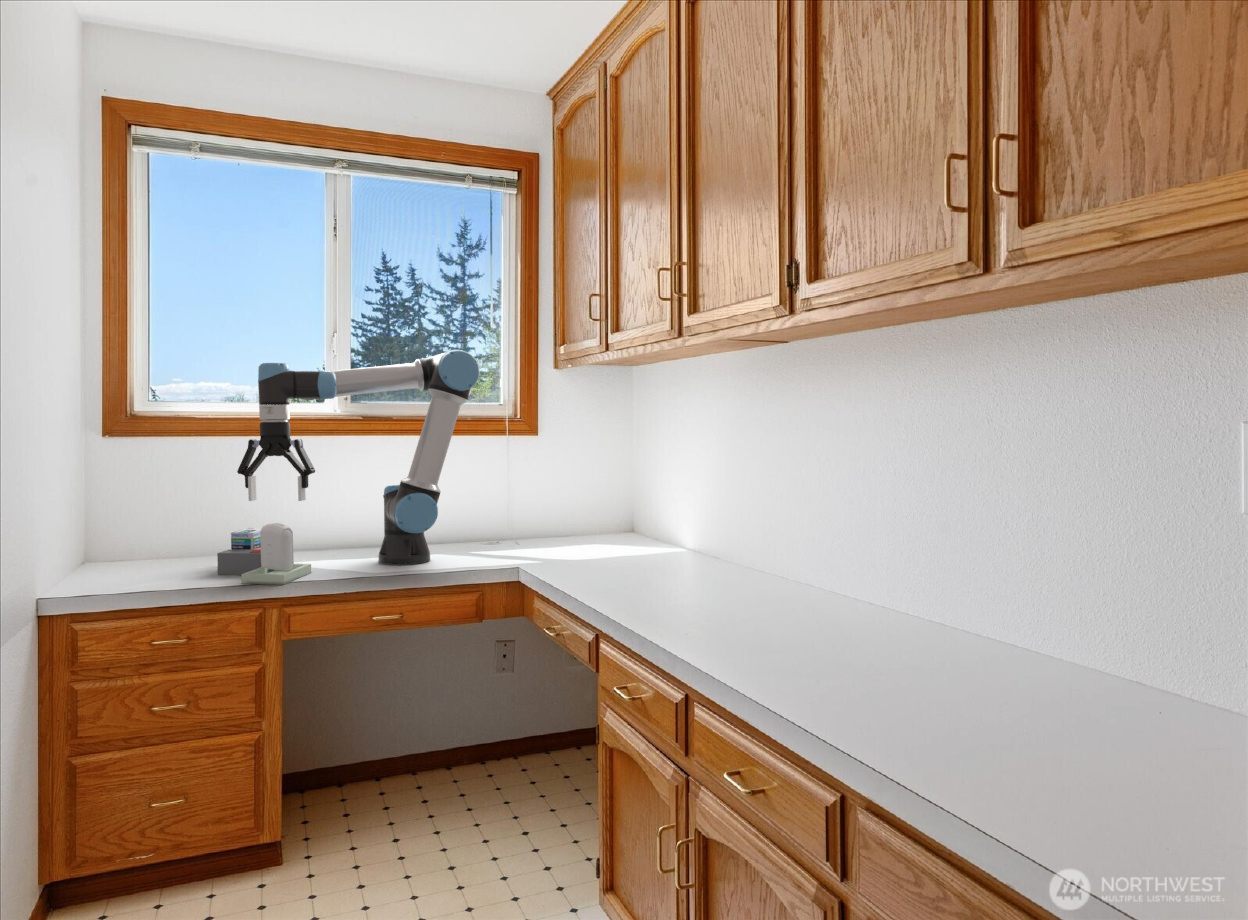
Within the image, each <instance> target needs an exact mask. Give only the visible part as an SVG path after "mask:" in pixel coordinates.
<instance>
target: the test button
mask: <svg viewBox="0 0 1248 920" xmlns="http://www.w3.org/2000/svg"><path fill="white" fill-rule="evenodd" d="M252 553H261V548H255V549H252Z"/></svg>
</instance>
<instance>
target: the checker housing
mask: <svg viewBox="0 0 1248 920" xmlns="http://www.w3.org/2000/svg"><path fill="white" fill-rule="evenodd" d="M216 558H217V575H219V576H223V575H224V576H241V574H244V573H246V572H249V571H252V570H255V569H257V568H260V567H261V553H252V550H231V549H227V550H223V551H220V552H217V557H216ZM269 570H271V571H269ZM268 571H269V572H268ZM272 571H274V570H272V569H267V573H270V572H272Z"/></svg>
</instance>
